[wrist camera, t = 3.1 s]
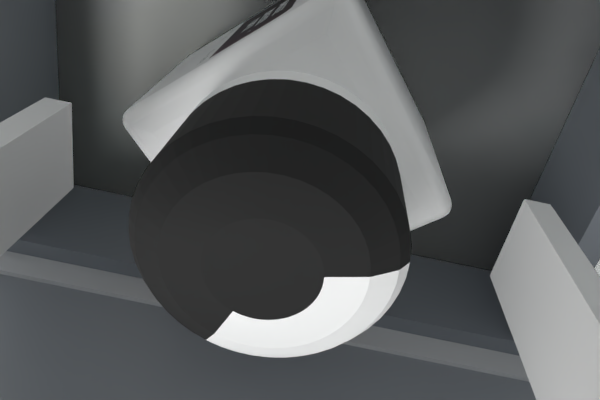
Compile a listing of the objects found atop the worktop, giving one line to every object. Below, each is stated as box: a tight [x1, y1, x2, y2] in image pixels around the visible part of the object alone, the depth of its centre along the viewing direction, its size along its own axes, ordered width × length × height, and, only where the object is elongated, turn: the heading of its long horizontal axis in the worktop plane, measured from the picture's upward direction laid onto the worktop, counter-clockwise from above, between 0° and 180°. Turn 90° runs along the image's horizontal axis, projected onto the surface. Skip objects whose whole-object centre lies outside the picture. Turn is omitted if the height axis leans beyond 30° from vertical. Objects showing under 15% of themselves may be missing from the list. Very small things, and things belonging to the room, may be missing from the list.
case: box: [0, 0, 600, 400], centre depth 15 cm, size 17×25×18 cm
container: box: [122, 0, 452, 358], centre depth 17 cm, size 8×8×13 cm
